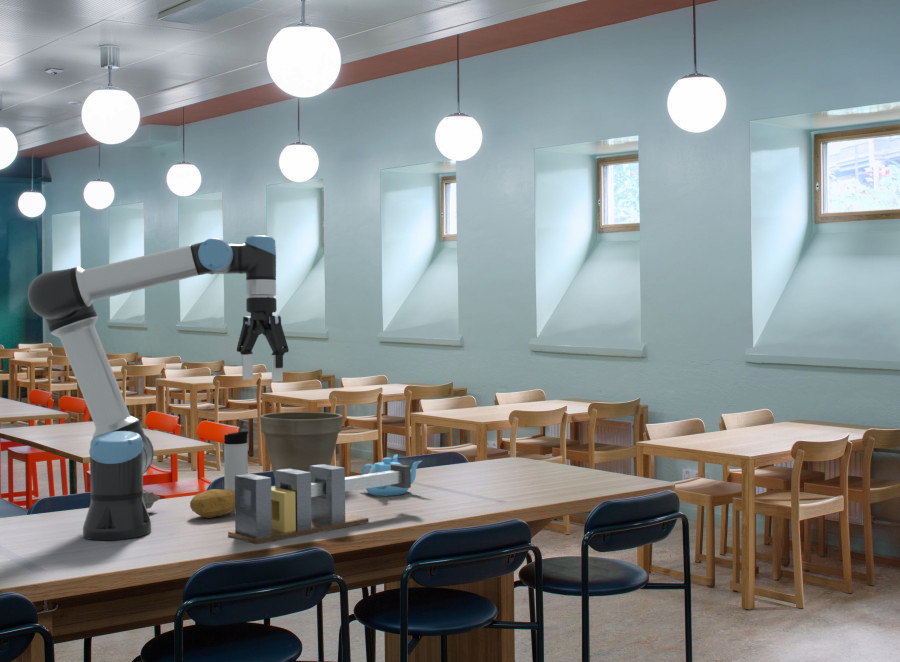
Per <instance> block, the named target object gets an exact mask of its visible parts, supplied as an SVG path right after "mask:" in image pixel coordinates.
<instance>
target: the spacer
mask: <svg viewBox="0 0 900 662" xmlns="http://www.w3.org/2000/svg"><path fill="white" fill-rule="evenodd" d="M271 513H272V529H274V530H278V531H282V532H290V531H295V530H296V507H295V491H290V490H285V489H281V488H276V487H275V486H271Z"/></svg>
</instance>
